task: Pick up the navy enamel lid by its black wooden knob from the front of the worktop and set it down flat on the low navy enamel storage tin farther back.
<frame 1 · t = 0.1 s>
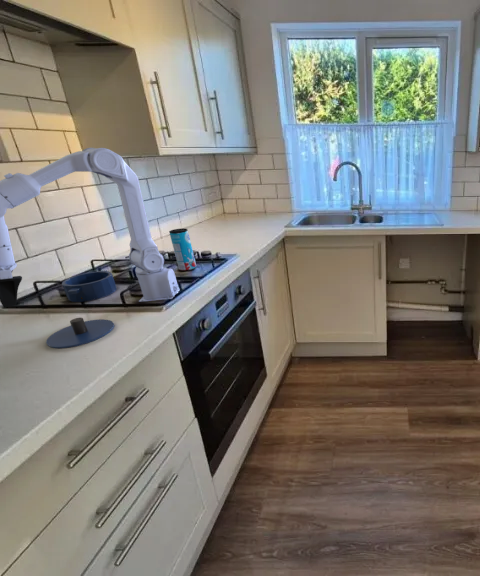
hand: (6, 301, 87), 11 cm above the countertop, tool pointing down, fingers open, 7 cm apart
tin: (93, 293, 117), on the countertop
tin lid: (82, 333, 92), point 1 cm above the countertop
beverage can: (188, 269, 136), on the countertop
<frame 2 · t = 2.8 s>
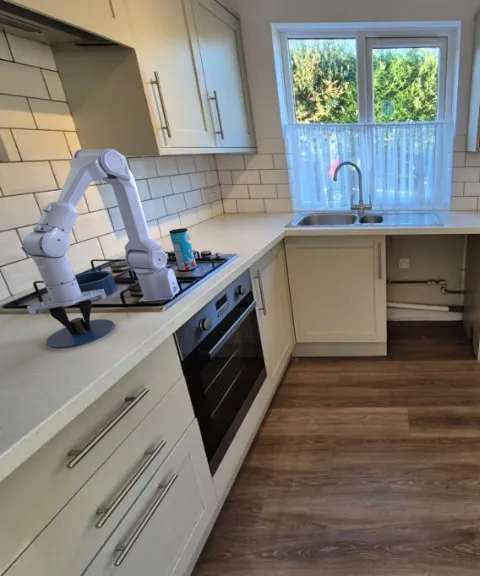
hand: (80, 331, 91), 1 cm above the countertop, tool pointing down, fingers closed on tin lid, 2 cm apart
tin lid: (82, 333, 92), point 1 cm above the countertop, touching gripper
everything else where it was.
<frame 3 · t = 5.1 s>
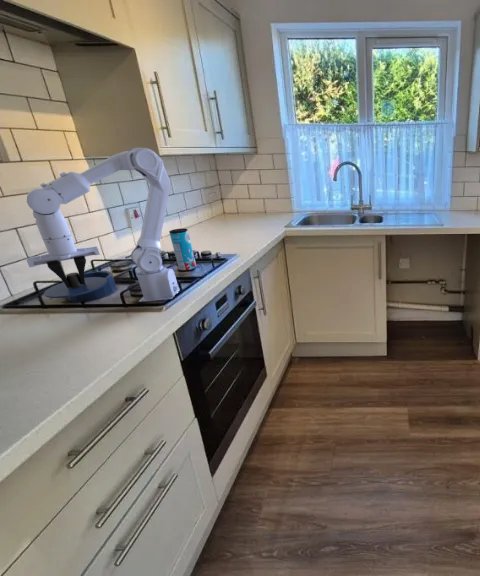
hand: (76, 285, 99), 9 cm above the countertop, tool pointing down, fingers closed on tin lid, 2 cm apart
tin lid: (77, 287, 99), point 9 cm above the countertop, touching gripper
everything else where it was.
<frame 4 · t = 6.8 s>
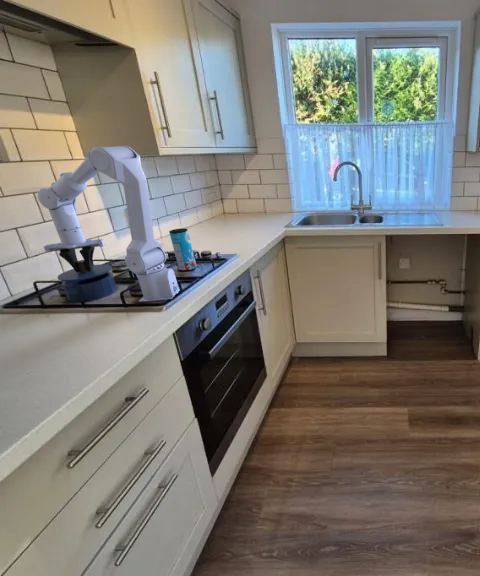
hand: (84, 270, 114), 8 cm above the countertop, tool pointing down, fingers closed on tin lid, 2 cm apart
tin lid: (85, 273, 114), point 7 cm above the countertop, touching gripper
everything else where it was.
when the fingers open (6 cm above the countertop, at t = 7.7 s): tin lid stays where it is, resting on tin.
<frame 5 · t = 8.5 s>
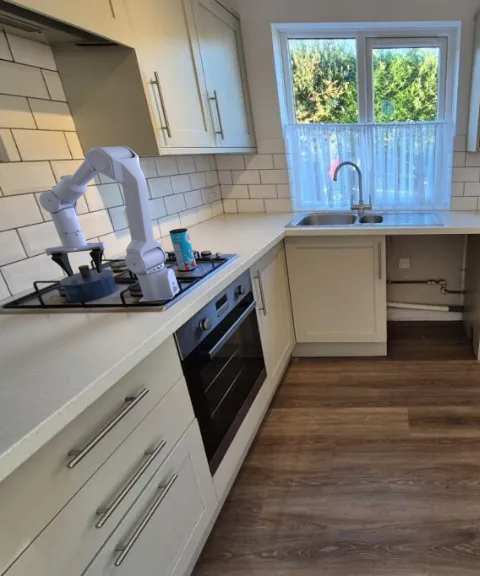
hand: (85, 273, 114), 7 cm above the countertop, tool pointing down, fingers open, 7 cm apart
tin lid: (87, 278, 115), point 5 cm above the countertop, touching tin
everything else where it was.
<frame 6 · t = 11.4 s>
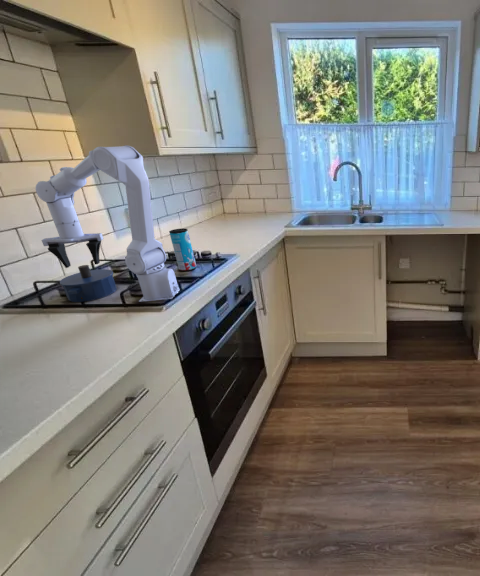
hand: (83, 265, 113), 10 cm above the countertop, tool pointing down, fingers open, 7 cm apart
nothing on the countertop moved.
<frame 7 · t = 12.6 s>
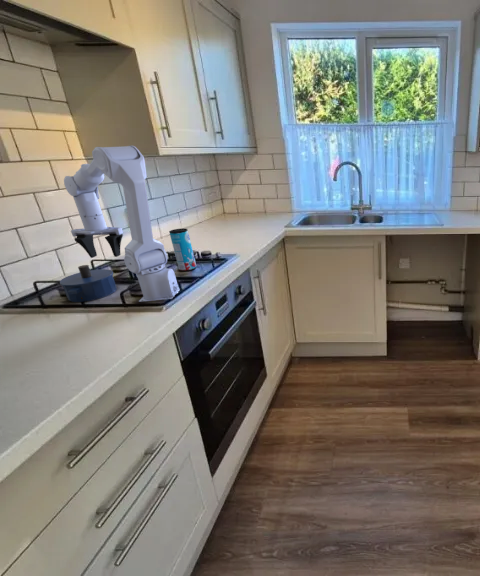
hand: (105, 256, 119), 10 cm above the countertop, tool pointing down, fingers open, 7 cm apart
nothing on the countertop moved.
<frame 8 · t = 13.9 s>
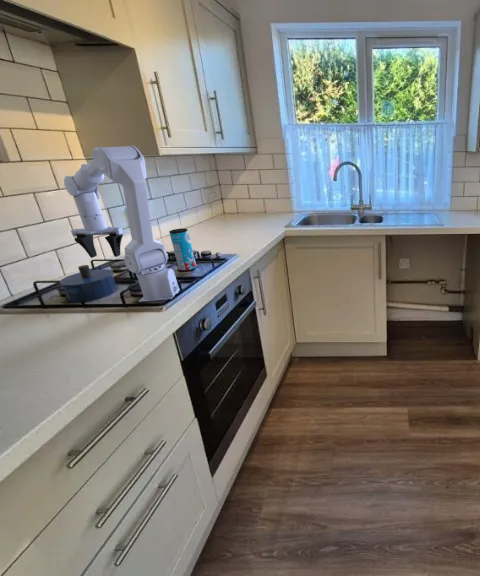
hand: (105, 256, 119), 10 cm above the countertop, tool pointing down, fingers open, 7 cm apart
nothing on the countertop moved.
at the end: tin lid 0.0 cm off-centre on the tin, point 5.4 cm above the tin's base; tin lid tilted 0°; the gripper is holding nothing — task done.
